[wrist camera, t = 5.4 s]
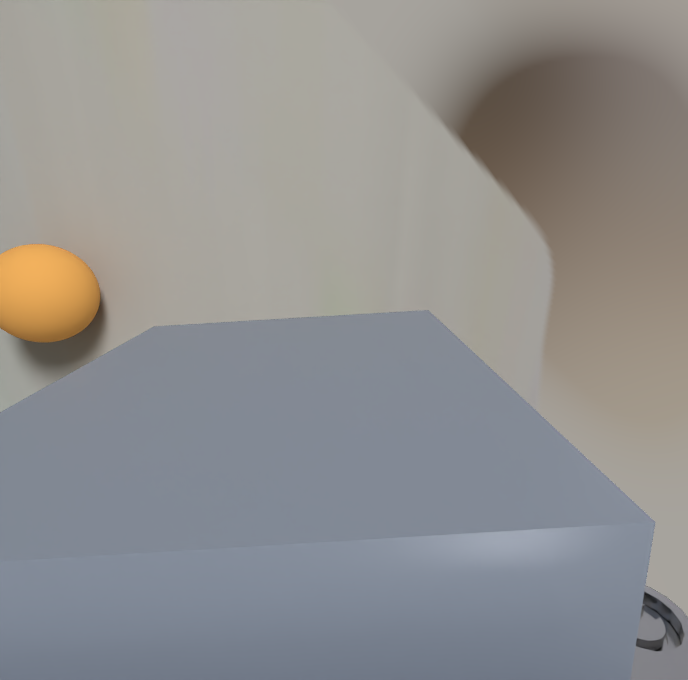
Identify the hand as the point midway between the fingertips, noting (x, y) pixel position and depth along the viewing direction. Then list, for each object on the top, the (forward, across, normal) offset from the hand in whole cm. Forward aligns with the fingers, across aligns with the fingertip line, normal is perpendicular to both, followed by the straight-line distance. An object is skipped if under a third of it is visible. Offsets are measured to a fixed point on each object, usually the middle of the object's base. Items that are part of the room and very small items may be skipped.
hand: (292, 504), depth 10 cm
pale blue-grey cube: (+3, 0, 0) cm, 3 cm away
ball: (+13, +14, -4) cm, 19 cm away
